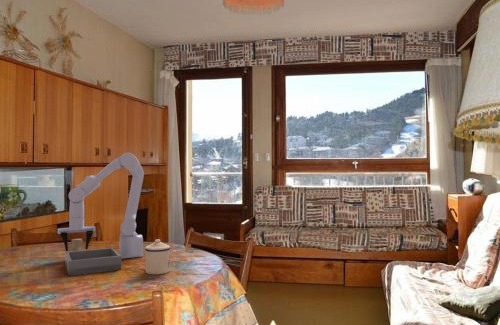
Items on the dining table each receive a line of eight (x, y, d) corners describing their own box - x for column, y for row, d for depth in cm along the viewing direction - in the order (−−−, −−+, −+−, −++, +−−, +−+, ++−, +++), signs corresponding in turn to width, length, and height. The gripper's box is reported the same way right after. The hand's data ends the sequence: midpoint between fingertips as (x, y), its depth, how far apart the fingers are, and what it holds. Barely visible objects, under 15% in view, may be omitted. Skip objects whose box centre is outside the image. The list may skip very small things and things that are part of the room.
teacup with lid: (174, 272, 152) (174, 240, 152) (150, 276, 146) (150, 242, 147) (161, 266, 161) (161, 235, 162) (138, 269, 156) (138, 238, 156)
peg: (82, 257, 177) (82, 238, 177) (83, 259, 173) (83, 240, 173) (70, 258, 175) (70, 239, 175) (71, 260, 171) (71, 241, 171)
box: (113, 259, 172) (113, 247, 172) (121, 269, 156) (121, 256, 156) (65, 264, 164) (65, 252, 164) (68, 275, 148) (68, 261, 148)
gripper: (94, 215, 181) (93, 246, 181) (57, 217, 174) (57, 249, 174) (96, 217, 175) (96, 249, 175) (58, 218, 168) (57, 252, 168)
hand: (76, 249), depth 174 cm, fingers open, 7 cm apart
